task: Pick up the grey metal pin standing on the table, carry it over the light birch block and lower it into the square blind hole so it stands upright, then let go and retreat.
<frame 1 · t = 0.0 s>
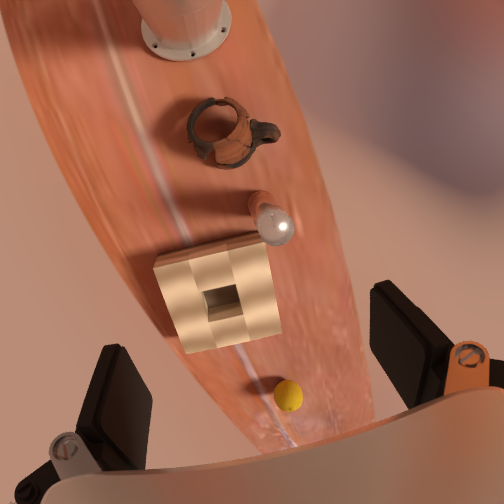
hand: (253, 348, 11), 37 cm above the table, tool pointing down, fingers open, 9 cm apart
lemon: (283, 381, 62), on the table
bore block: (220, 287, 51), on the table
pottery mug: (231, 134, 43), on the table
pin: (260, 203, 47), on the table
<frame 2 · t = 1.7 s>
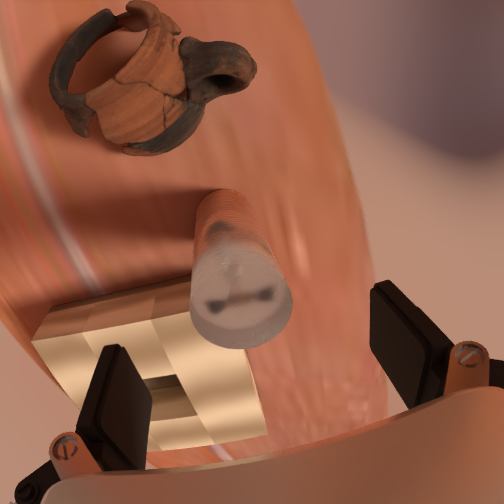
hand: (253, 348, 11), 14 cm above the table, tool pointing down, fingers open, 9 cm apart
bore block: (160, 360, 28), on the table
pottery mug: (159, 84, 19), on the table
pin: (224, 216, 23), on the table
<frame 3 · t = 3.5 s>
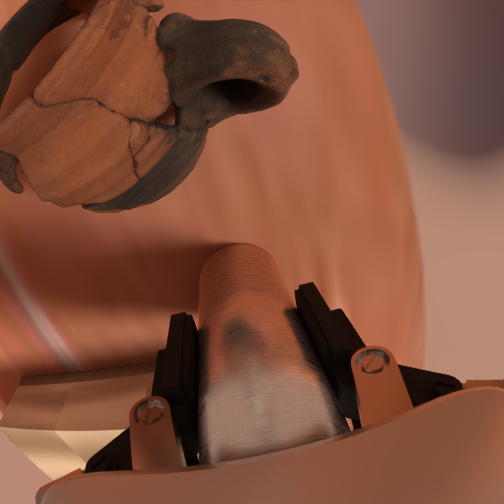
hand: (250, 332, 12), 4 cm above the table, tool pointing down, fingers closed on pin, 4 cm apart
bore block: (159, 439, 20), on the table
pottery mug: (136, 97, 12), on the table
pin: (239, 280, 16), on the table, touching gripper
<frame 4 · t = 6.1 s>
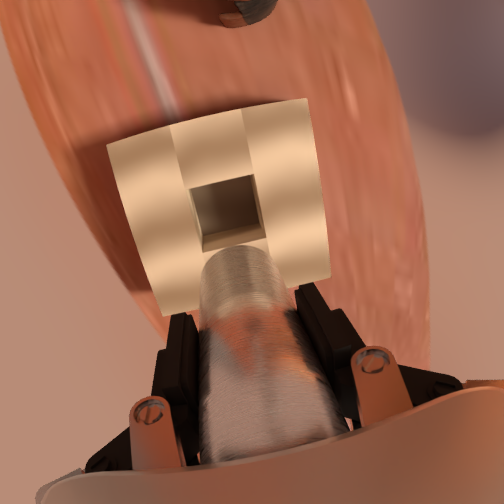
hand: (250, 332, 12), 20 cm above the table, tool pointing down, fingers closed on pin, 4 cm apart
bore block: (224, 199, 30), on the table
pin: (240, 282, 16), point 16 cm above the table, touching gripper
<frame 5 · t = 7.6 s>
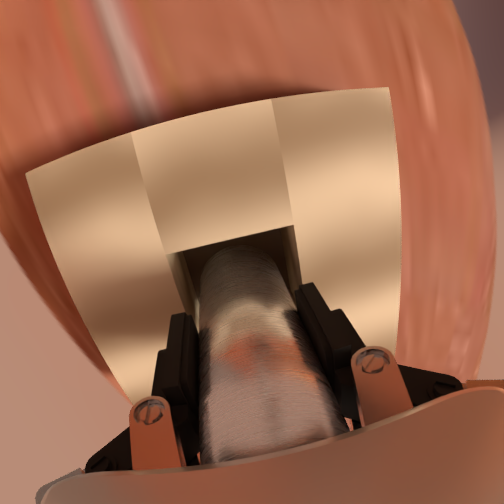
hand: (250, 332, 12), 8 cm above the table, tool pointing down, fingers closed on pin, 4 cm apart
bore block: (234, 252, 19), on the table
pin: (240, 282, 16), point 3 cm above the table, touching gripper
when the fingers open (6 cm above the table, at t = 8.8 s): pin stays where it is, resting on bore block.
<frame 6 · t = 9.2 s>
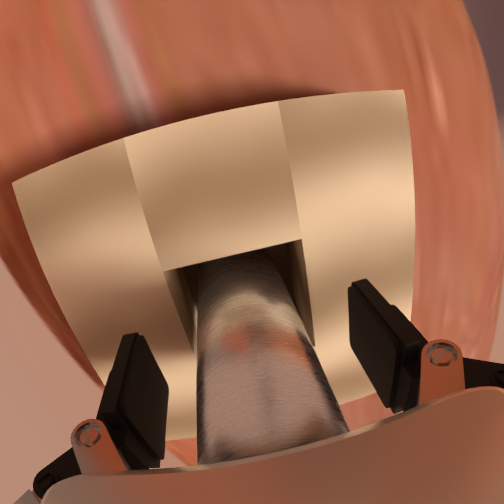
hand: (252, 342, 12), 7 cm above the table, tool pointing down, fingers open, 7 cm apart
bore block: (236, 264, 18), on the table
pin: (237, 272, 17), point 1 cm above the table, touching bore block
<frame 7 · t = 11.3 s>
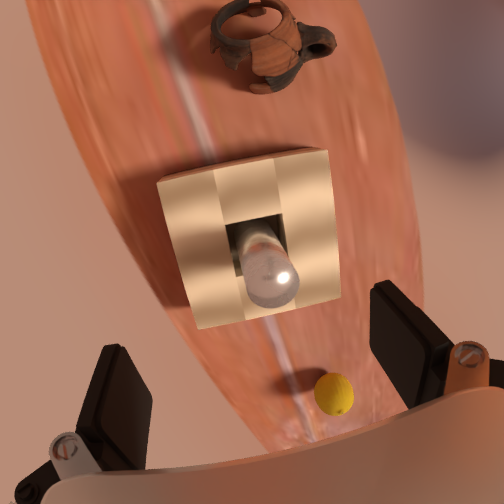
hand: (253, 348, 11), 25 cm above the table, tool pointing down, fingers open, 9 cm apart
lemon: (325, 375, 46), on the table
bore block: (252, 230, 36), on the table
pottery mug: (267, 51, 29), on the table
pin: (252, 233, 35), point 1 cm above the table, touching bore block
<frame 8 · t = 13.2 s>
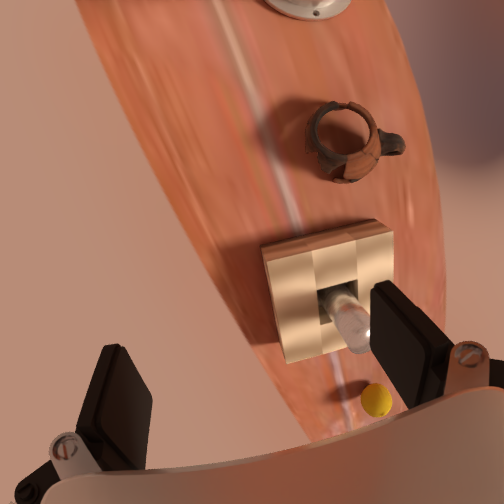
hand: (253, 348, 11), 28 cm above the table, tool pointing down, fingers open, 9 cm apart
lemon: (367, 384, 54), on the table
bore block: (326, 284, 44), on the table
pottery mug: (344, 143, 37), on the table
pin: (328, 288, 43), point 1 cm above the table, touching bore block
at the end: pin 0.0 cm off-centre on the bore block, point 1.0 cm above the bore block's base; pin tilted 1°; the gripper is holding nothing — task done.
